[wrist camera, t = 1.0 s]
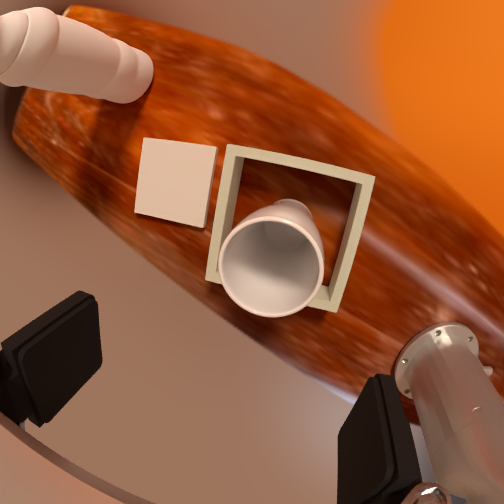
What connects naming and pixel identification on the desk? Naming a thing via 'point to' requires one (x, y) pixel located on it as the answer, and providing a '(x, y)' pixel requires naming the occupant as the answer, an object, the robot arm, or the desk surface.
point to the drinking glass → (273, 260)
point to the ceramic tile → (175, 180)
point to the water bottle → (69, 57)
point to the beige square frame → (364, 183)
